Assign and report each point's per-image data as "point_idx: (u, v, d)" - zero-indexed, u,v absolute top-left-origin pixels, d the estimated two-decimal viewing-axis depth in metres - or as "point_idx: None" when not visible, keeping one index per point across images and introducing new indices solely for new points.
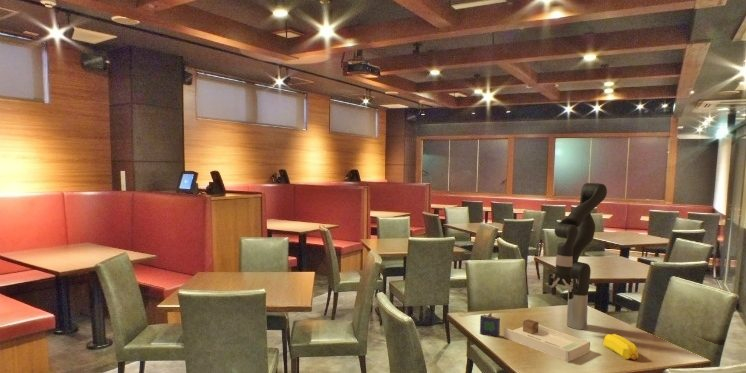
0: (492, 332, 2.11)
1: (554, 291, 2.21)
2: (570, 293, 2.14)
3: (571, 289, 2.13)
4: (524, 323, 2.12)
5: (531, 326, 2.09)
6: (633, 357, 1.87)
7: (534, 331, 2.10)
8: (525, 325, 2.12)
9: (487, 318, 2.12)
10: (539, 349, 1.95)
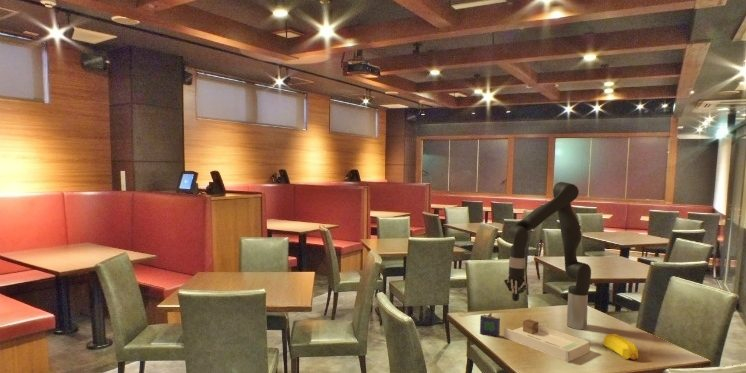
0: (492, 332, 2.11)
1: None
2: (515, 295, 2.18)
3: None
4: (524, 323, 2.12)
5: (531, 326, 2.09)
6: (633, 357, 1.87)
7: (534, 331, 2.10)
8: (525, 325, 2.12)
9: (487, 318, 2.12)
10: (539, 349, 1.95)
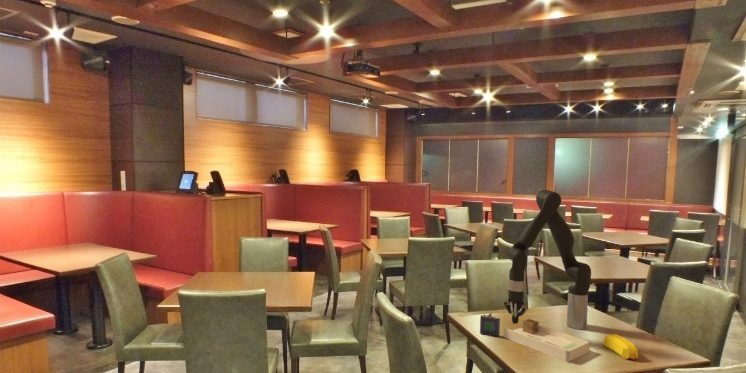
0: (492, 332, 2.11)
1: None
2: (515, 318, 2.18)
3: None
4: (524, 323, 2.12)
5: (531, 326, 2.09)
6: (633, 357, 1.87)
7: (534, 331, 2.10)
8: (525, 325, 2.12)
9: (487, 318, 2.12)
10: (539, 349, 1.95)
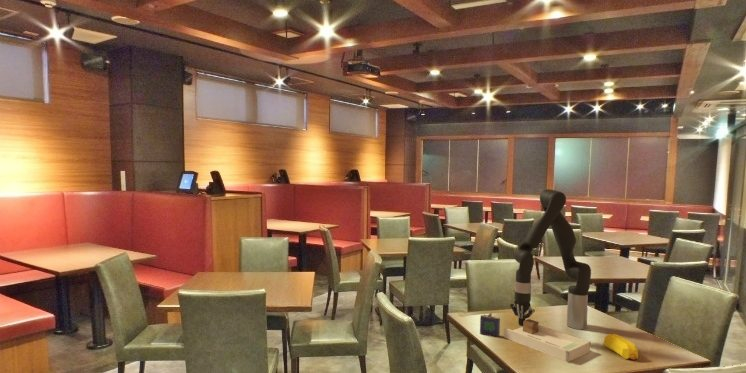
0: (492, 332, 2.11)
1: None
2: (522, 320, 2.15)
3: None
4: (524, 323, 2.12)
5: (531, 326, 2.09)
6: (633, 357, 1.87)
7: (534, 331, 2.10)
8: (525, 325, 2.12)
9: (487, 318, 2.12)
10: (539, 349, 1.95)
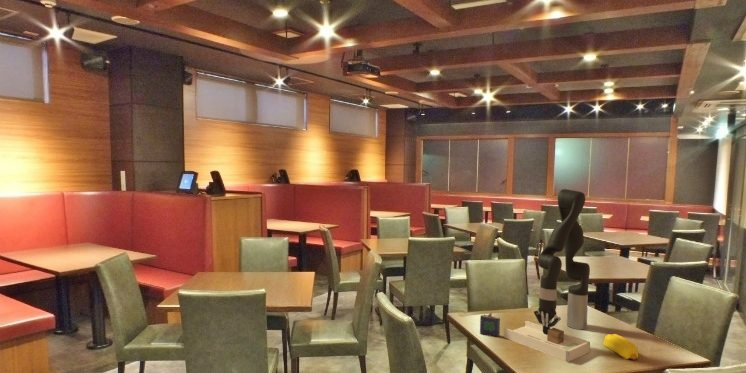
0: (492, 332, 2.11)
1: None
2: (546, 328, 2.04)
3: None
4: (549, 332, 2.01)
5: (556, 336, 1.98)
6: (633, 357, 1.87)
7: (559, 341, 1.99)
8: (550, 334, 2.01)
9: (487, 318, 2.12)
10: (539, 349, 1.95)
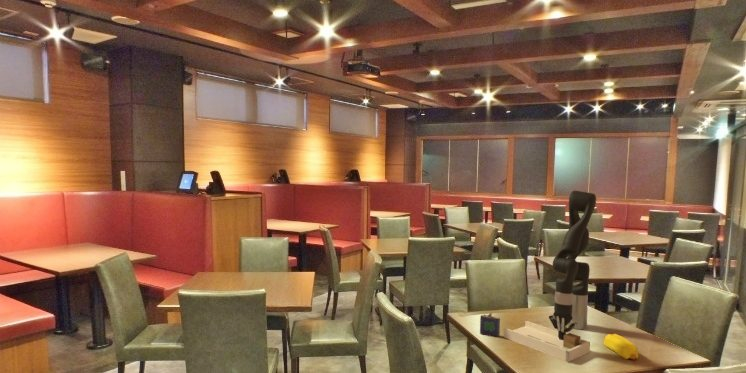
0: (492, 332, 2.11)
1: None
2: (562, 333, 1.98)
3: None
4: (565, 338, 1.95)
5: (572, 341, 1.92)
6: (633, 357, 1.87)
7: None
8: (566, 340, 1.95)
9: (487, 318, 2.12)
10: (539, 349, 1.95)
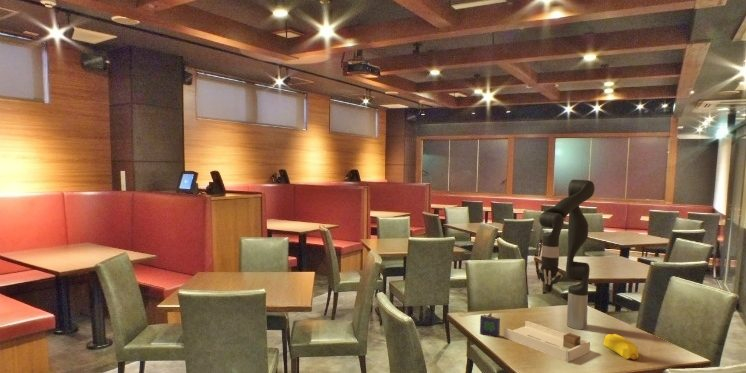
0: (492, 332, 2.11)
1: None
2: (549, 286, 2.05)
3: None
4: (565, 338, 1.95)
5: (572, 341, 1.92)
6: (633, 357, 1.87)
7: None
8: (566, 340, 1.95)
9: (487, 318, 2.12)
10: (539, 349, 1.95)
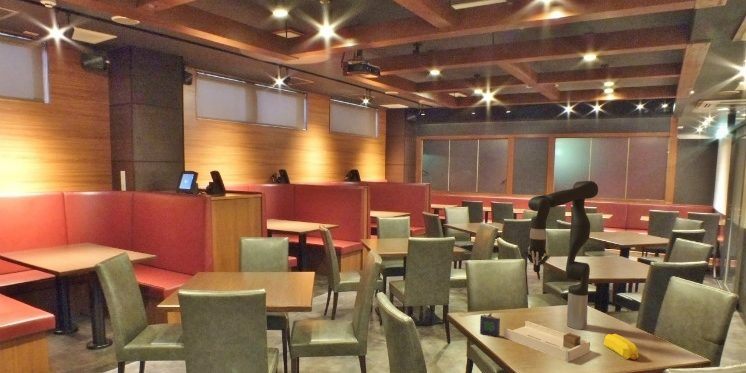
0: (492, 332, 2.11)
1: None
2: (537, 266, 2.19)
3: None
4: (565, 338, 1.95)
5: (572, 341, 1.92)
6: (633, 357, 1.87)
7: None
8: (566, 340, 1.95)
9: (487, 318, 2.12)
10: (539, 349, 1.95)
